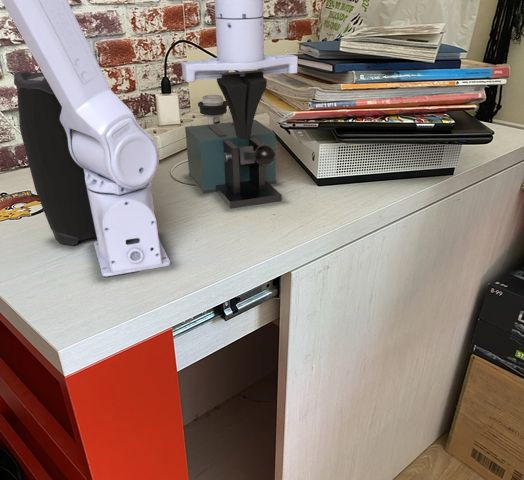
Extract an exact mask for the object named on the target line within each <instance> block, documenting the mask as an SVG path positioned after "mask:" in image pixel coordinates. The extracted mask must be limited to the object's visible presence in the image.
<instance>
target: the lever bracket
mask: <svg viewBox="0 0 524 480" xmlns="http://www.w3.org/2000/svg"><path fill="white" fill-rule="evenodd" d="M260 145H263V143H262V142H260V141H259V140H258V139H256V138H255V137H254V138H249V146H253V149H254V151H255V150H256V149H257V147H259V146H260ZM223 146H224V165H225V184H222V185H216V192H215V193H216V194H217V195H218V196H219V197H220V199H221V200H222V201H223V202H224V203H225V204H226V206H227V207H228V208H229V209H231V210H232V209H240V208H245V207H252V206H259V205H266V204H272V203H279V202H282V194H281V193H280V191H278V190H276V188H275V187H274V186H272V184H271V185H270V184H269V183H268V182H267V181H265V167H263V166H260V165H258V164H257V162H256V161H255V163H252V164H249V171H250V181H244V182H240V171H239V148H238V147H237V146H236V145H235V144H233V143H232V142H231V141H230V140H227V141H223Z"/></svg>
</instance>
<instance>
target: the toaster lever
mask: <svg viewBox="0 0 524 480" xmlns="http://www.w3.org/2000/svg"><path fill="white" fill-rule="evenodd" d="M238 148H239V165H244V164H252V163H255V161H256V162H257V164H258V165H260V166H263V167H266V166H269V165H271V164H272V163H273V161H274V159H275V160H276V151H275V152H274V150H273V148H272V147H271V146H269V145H266V144H263V145H260V146H259V147H257V149H256V150H255V151H254V149H253V146H243V147H238Z"/></svg>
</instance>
